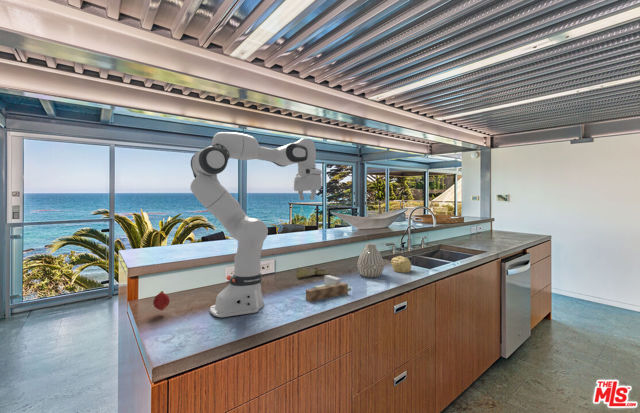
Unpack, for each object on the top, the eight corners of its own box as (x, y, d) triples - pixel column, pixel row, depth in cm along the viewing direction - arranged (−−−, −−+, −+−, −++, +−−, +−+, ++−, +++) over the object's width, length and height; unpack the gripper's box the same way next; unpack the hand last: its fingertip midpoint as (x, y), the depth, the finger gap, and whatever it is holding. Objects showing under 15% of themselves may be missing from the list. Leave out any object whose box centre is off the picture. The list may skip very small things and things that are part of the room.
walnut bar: (309, 302, 132) (309, 291, 132) (305, 300, 134) (305, 289, 134) (347, 294, 144) (347, 284, 144) (343, 292, 147) (343, 282, 147)
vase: (389, 277, 176) (389, 244, 176) (370, 281, 167) (370, 246, 167) (370, 272, 190) (370, 241, 189) (351, 275, 181) (352, 243, 180)
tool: (296, 267, 172) (293, 268, 176) (297, 278, 170) (294, 279, 174) (329, 263, 182) (326, 264, 186) (331, 274, 180) (327, 274, 184)
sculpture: (388, 271, 192) (388, 255, 192) (402, 270, 197) (402, 254, 197) (400, 275, 181) (400, 258, 181) (414, 273, 187) (414, 256, 186)
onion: (152, 313, 117) (152, 293, 117) (154, 309, 122) (154, 289, 122) (168, 311, 119) (168, 292, 119) (169, 307, 124) (170, 288, 124)
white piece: (329, 294, 143) (329, 281, 143) (314, 288, 154) (314, 276, 154) (350, 289, 151) (350, 277, 151) (335, 283, 162) (335, 273, 162)
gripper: (290, 173, 153) (290, 199, 153) (313, 169, 136) (312, 199, 136) (301, 174, 156) (301, 200, 156) (323, 170, 140) (323, 199, 140)
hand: (306, 199), depth 146 cm, fingers open, 8 cm apart
